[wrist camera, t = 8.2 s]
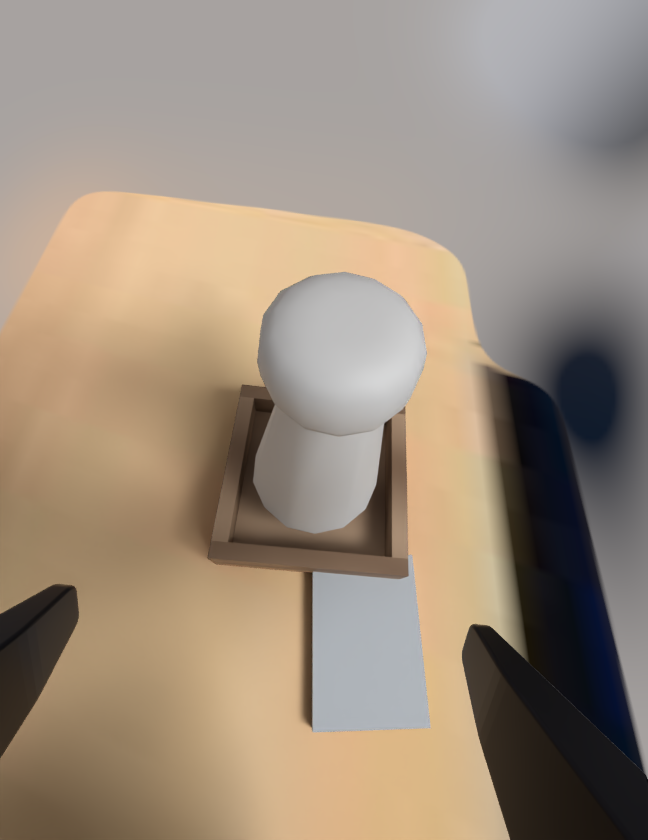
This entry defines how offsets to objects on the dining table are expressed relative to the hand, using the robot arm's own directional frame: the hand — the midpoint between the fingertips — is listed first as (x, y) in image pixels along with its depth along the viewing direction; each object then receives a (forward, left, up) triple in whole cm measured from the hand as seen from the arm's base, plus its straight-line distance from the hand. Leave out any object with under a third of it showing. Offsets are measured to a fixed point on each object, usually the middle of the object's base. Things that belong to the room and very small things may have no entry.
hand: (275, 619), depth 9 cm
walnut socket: (+7, -1, -11) cm, 13 cm away
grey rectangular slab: (0, -4, -11) cm, 12 cm away
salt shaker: (+6, -1, -10) cm, 12 cm away
